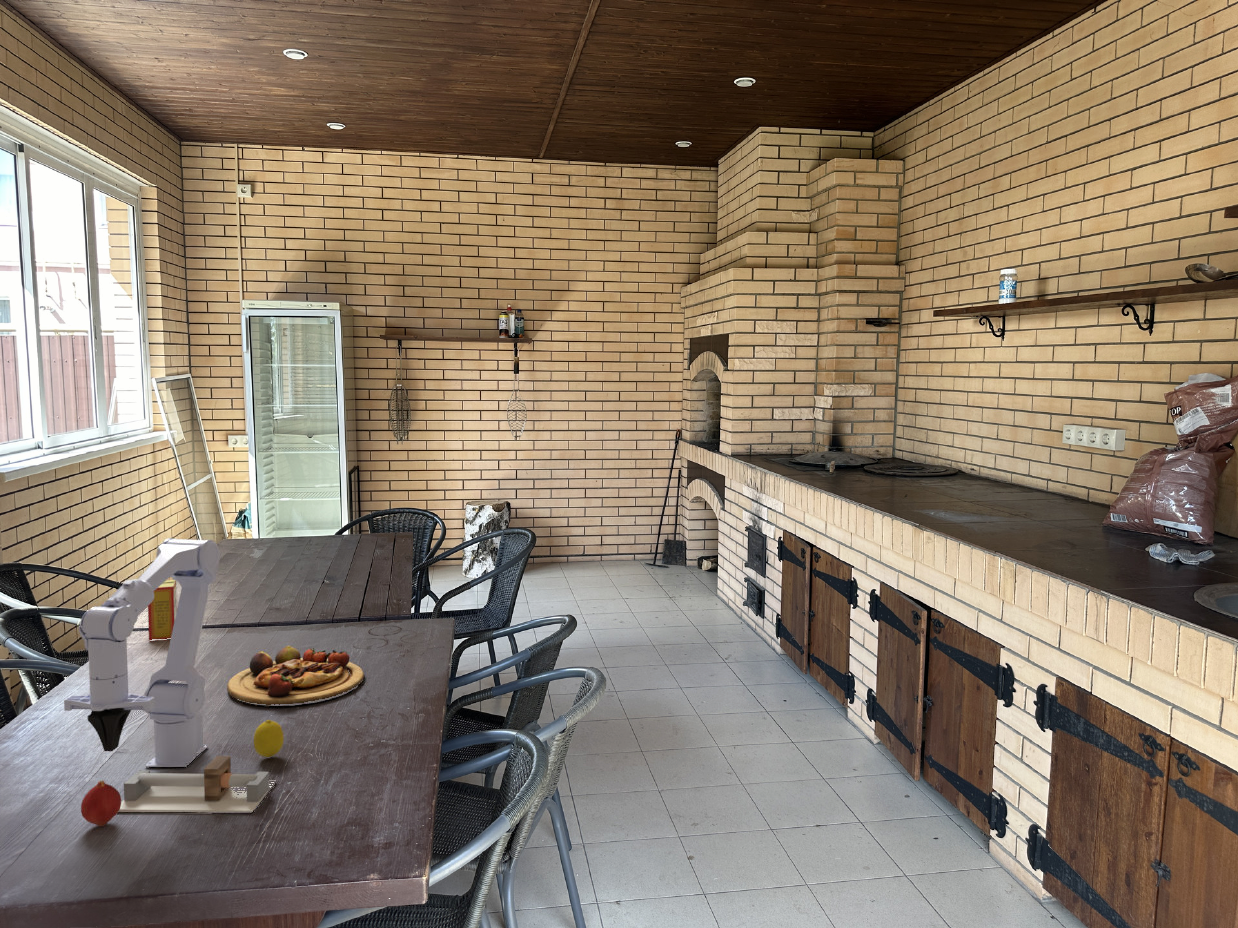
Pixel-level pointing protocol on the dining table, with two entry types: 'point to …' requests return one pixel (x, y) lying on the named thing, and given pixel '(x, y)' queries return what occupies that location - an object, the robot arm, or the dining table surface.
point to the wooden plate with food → (295, 677)
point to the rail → (191, 792)
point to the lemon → (268, 738)
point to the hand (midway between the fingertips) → (111, 748)
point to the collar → (216, 778)
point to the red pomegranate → (101, 804)
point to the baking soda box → (162, 611)
